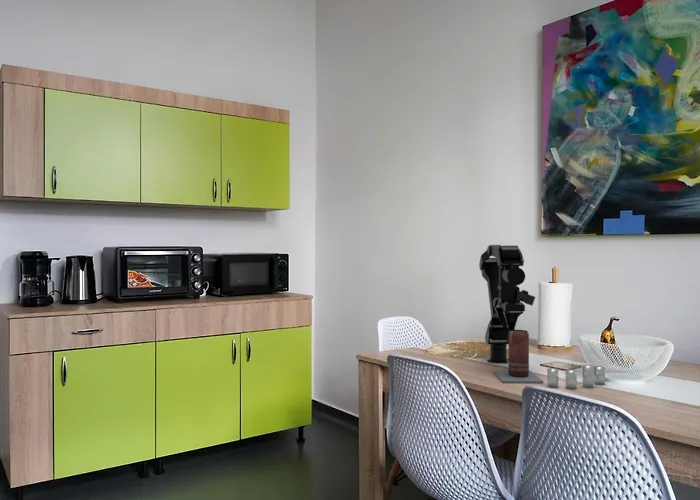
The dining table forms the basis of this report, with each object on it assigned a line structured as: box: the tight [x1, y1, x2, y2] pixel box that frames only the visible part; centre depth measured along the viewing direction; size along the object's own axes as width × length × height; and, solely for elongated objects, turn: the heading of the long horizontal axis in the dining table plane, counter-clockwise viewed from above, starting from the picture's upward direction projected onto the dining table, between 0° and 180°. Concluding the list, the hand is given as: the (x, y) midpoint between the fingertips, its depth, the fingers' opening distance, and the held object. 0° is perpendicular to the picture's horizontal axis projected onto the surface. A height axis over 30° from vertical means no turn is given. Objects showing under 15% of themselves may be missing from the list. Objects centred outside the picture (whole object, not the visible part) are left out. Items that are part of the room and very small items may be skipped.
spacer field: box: [547, 364, 606, 390], centre depth 170 cm, size 8×21×6 cm, turn 114°
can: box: [508, 329, 530, 377], centre depth 180 cm, size 6×6×14 cm
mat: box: [492, 370, 544, 384], centre depth 179 cm, size 14×12×1 cm
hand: (508, 330), depth 191 cm, fingers open, 9 cm apart
